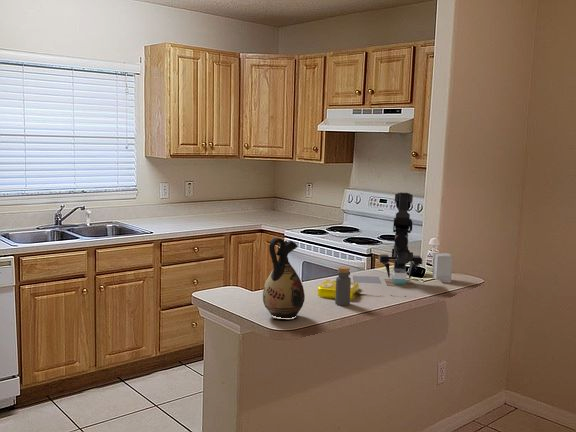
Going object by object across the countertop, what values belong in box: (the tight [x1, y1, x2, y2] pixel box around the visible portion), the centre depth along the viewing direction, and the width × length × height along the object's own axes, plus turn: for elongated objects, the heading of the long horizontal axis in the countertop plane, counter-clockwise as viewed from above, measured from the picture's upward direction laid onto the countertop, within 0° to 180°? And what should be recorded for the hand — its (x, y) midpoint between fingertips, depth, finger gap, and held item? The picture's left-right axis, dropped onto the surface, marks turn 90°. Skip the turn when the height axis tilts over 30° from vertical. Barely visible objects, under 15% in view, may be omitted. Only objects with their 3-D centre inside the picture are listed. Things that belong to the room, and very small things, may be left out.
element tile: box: [317, 279, 360, 301], centre depth 250 cm, size 15×15×5 cm
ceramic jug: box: [262, 237, 306, 318], centre depth 216 cm, size 17×15×30 cm
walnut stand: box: [383, 278, 415, 288], centre depth 266 cm, size 12×12×2 cm
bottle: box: [334, 265, 352, 307], centre depth 236 cm, size 6×6×15 cm
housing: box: [391, 268, 408, 285], centre depth 266 cm, size 8×5×6 cm, turn 178°
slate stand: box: [352, 275, 382, 284], centre depth 271 cm, size 12×12×2 cm
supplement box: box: [432, 252, 454, 284], centre depth 278 cm, size 7×7×13 cm
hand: (399, 277), depth 266 cm, fingers open, 9 cm apart
